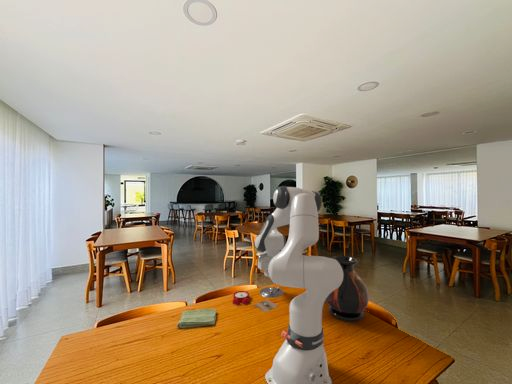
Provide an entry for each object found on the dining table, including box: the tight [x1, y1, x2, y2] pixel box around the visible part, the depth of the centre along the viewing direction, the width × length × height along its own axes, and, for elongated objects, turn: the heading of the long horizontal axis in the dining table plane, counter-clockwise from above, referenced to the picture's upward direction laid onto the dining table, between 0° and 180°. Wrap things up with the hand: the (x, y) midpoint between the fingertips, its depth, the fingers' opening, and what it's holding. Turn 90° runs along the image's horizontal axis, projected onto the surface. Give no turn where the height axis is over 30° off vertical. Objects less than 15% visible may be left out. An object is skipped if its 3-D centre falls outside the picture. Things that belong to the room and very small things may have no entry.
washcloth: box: [176, 308, 217, 329], centre depth 105 cm, size 13×18×3 cm
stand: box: [253, 299, 279, 313], centre depth 116 cm, size 10×10×2 cm
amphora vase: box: [325, 255, 370, 323], centre depth 109 cm, size 22×22×28 cm
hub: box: [259, 285, 284, 299], centre depth 133 cm, size 15×15×4 cm
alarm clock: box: [232, 290, 251, 306], centre depth 123 cm, size 10×6×15 cm
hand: (271, 273), depth 134 cm, fingers closed on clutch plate, 6 cm apart
